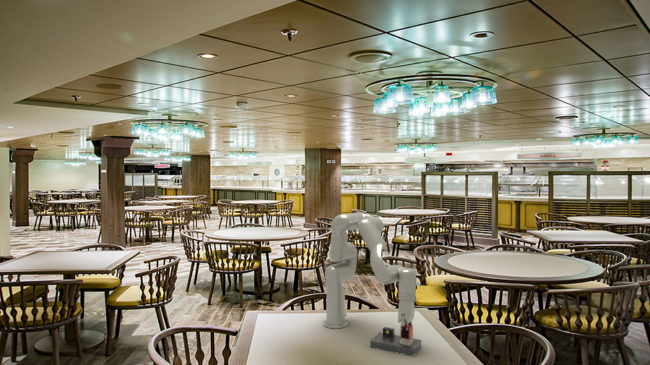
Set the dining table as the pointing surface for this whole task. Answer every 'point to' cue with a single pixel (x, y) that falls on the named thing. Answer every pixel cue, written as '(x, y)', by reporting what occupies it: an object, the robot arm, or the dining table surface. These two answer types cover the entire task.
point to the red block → (410, 328)
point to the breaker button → (407, 342)
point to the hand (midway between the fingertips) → (406, 336)
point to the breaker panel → (393, 342)
